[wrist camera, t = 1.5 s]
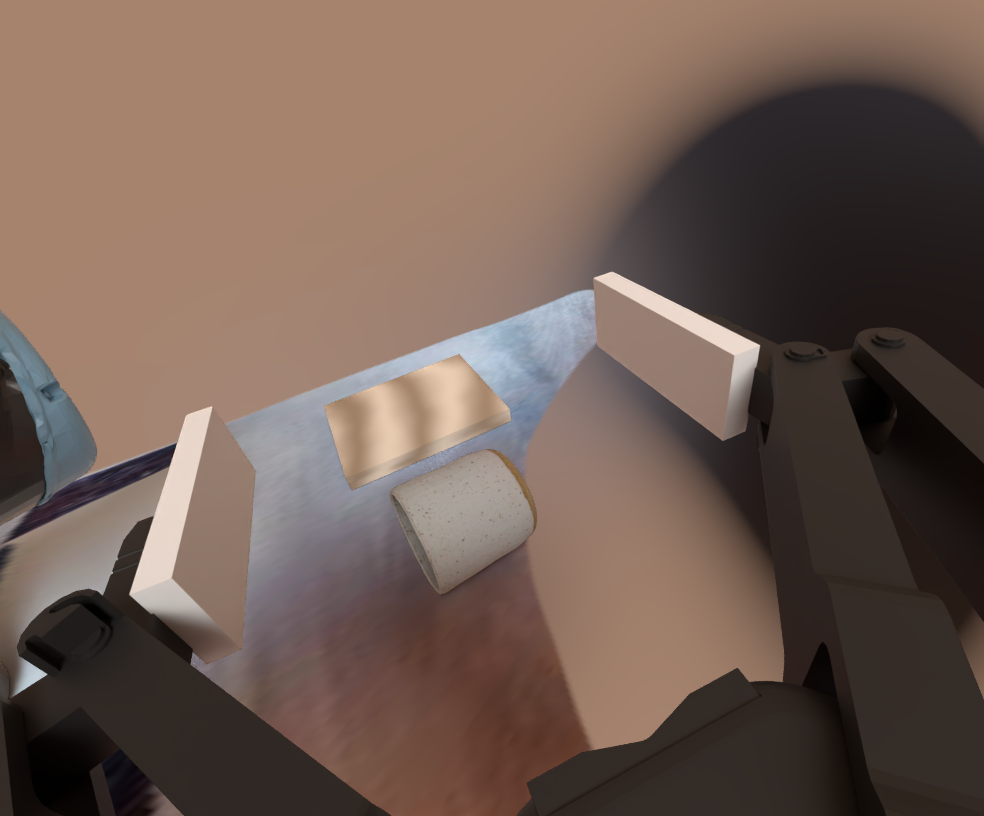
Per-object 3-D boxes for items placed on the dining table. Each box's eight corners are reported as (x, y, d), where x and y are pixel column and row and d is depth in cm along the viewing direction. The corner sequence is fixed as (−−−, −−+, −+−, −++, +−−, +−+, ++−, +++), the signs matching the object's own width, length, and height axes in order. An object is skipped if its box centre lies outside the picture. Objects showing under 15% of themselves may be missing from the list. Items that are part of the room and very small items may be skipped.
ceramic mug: (550, 550, 33) (537, 472, 29) (451, 618, 31) (419, 543, 26) (475, 472, 41) (456, 401, 37) (390, 521, 38) (358, 450, 34)
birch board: (351, 490, 42) (345, 478, 41) (328, 416, 52) (323, 405, 51) (511, 421, 46) (509, 408, 45) (461, 364, 56) (459, 354, 55)
